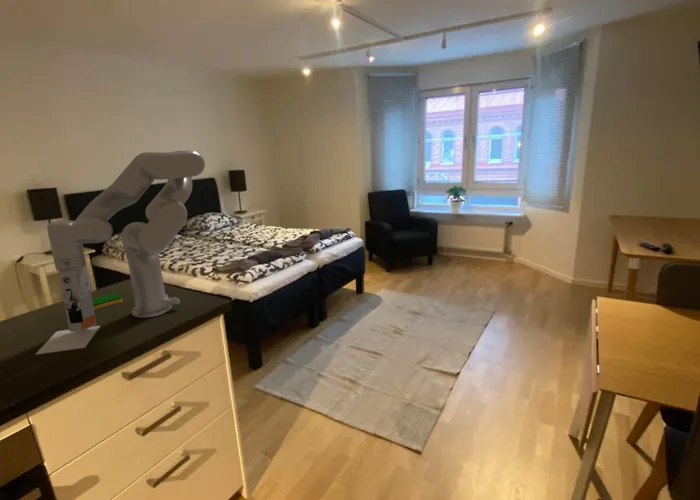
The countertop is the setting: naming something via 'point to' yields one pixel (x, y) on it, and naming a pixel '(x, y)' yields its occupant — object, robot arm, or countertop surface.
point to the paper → (68, 340)
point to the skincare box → (83, 315)
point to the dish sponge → (106, 300)
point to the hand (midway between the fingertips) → (81, 316)
